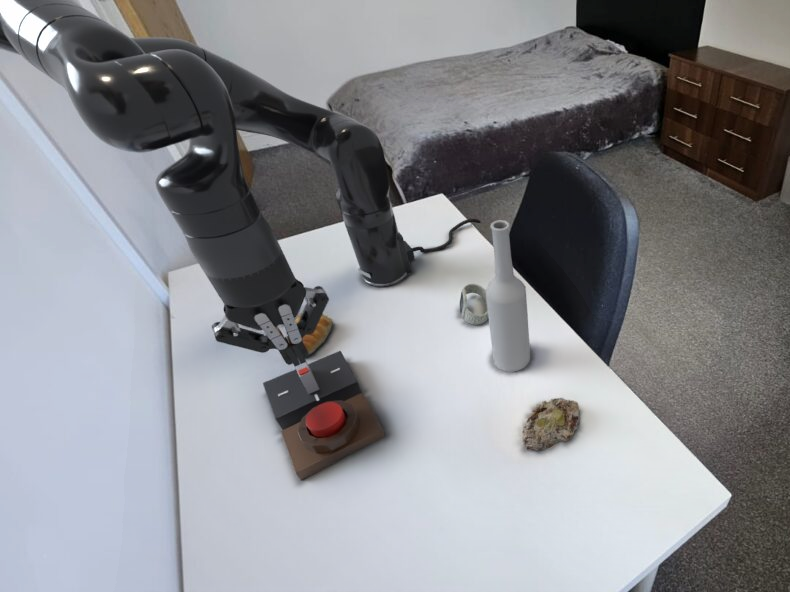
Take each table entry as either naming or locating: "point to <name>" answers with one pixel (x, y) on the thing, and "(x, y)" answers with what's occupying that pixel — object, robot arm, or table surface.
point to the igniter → (332, 438)
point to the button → (325, 419)
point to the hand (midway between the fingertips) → (299, 360)
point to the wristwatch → (463, 304)
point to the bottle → (507, 307)
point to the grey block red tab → (307, 377)
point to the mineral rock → (551, 423)
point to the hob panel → (296, 402)
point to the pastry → (317, 333)
